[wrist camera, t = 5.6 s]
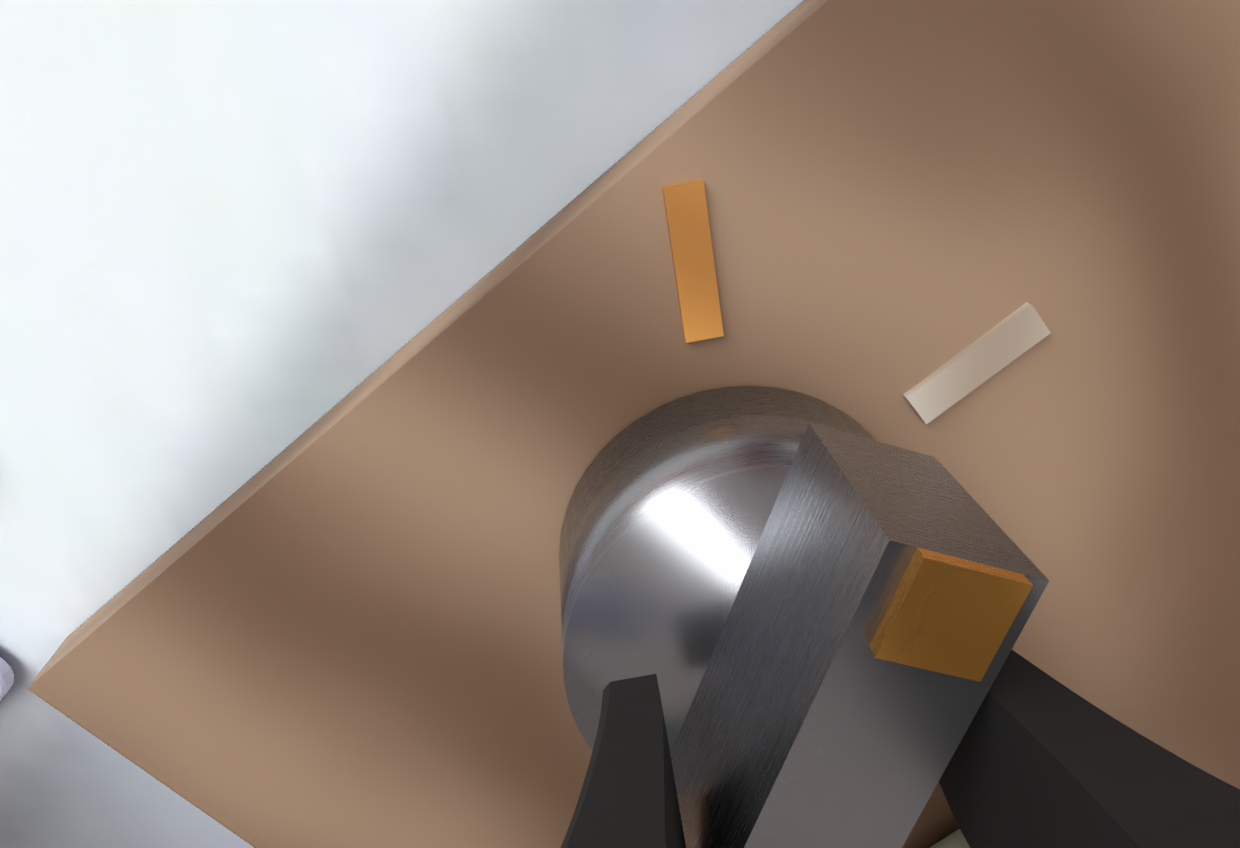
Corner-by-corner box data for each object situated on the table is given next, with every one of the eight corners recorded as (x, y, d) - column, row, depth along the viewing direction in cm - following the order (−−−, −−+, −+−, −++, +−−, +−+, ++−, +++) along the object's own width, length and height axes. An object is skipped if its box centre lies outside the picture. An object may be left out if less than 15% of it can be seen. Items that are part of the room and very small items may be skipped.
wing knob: (818, 741, 18) (948, 1075, 12) (510, 677, 17) (494, 1013, 11) (978, 411, 15) (1235, 636, 10) (630, 312, 14) (691, 499, 9)
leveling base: (658, 1071, 24) (677, 1233, 21) (67, 637, 18) (-38, 772, 15) (1471, 569, 20) (1653, 674, 17) (1068, -228, 14) (1232, -309, 10)
